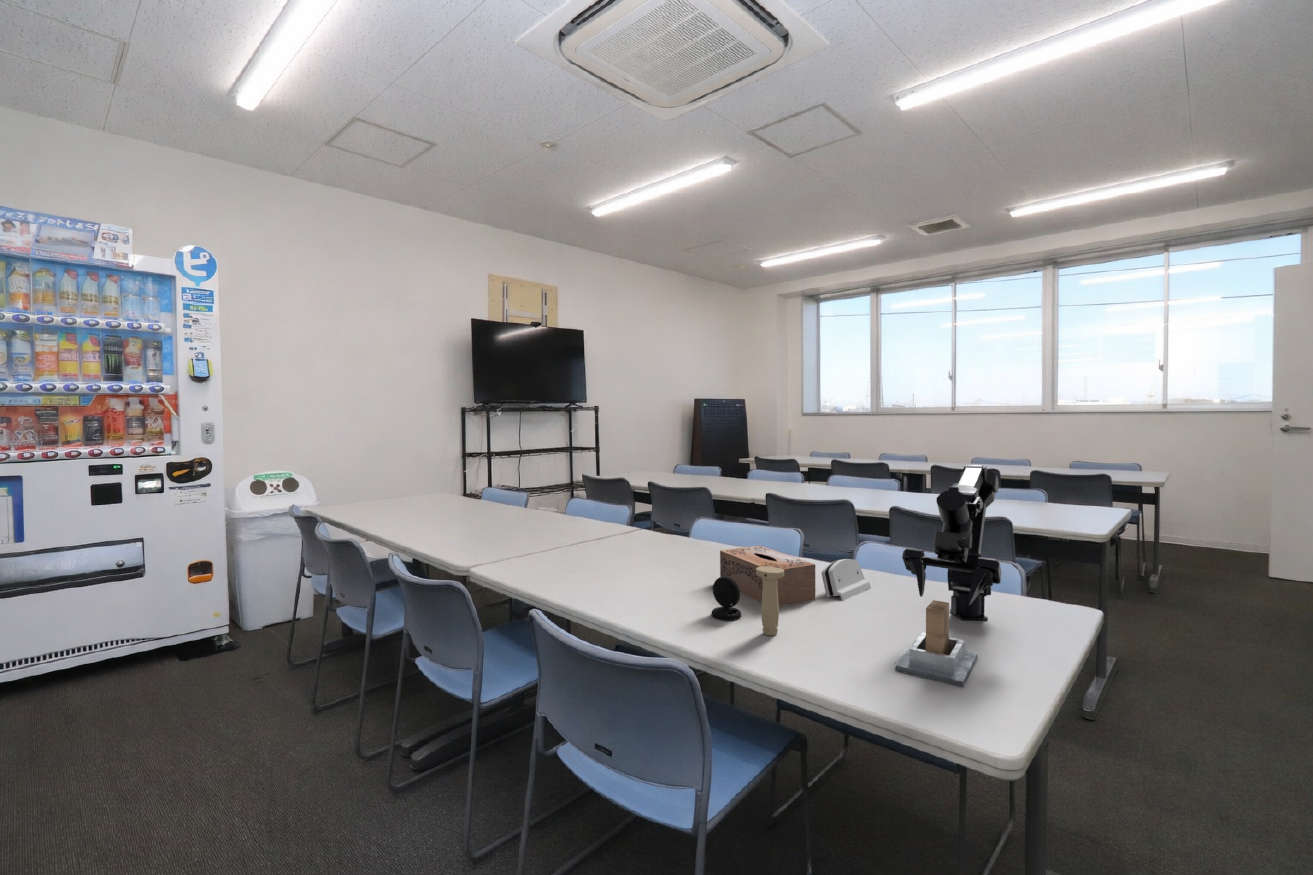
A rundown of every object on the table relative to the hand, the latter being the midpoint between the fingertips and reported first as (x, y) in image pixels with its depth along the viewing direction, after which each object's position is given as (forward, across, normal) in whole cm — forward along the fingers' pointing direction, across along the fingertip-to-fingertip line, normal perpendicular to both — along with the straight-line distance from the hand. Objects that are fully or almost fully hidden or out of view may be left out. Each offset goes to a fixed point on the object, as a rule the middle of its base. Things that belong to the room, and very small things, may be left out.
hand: (944, 599), depth 122 cm
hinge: (-13, -32, +30) cm, 46 cm away
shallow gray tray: (+12, 0, +4) cm, 13 cm away
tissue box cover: (-4, -50, +22) cm, 55 cm away
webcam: (+13, -49, +4) cm, 51 cm away
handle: (+16, -34, 0) cm, 38 cm away
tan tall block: (+12, 0, +3) cm, 12 cm away
